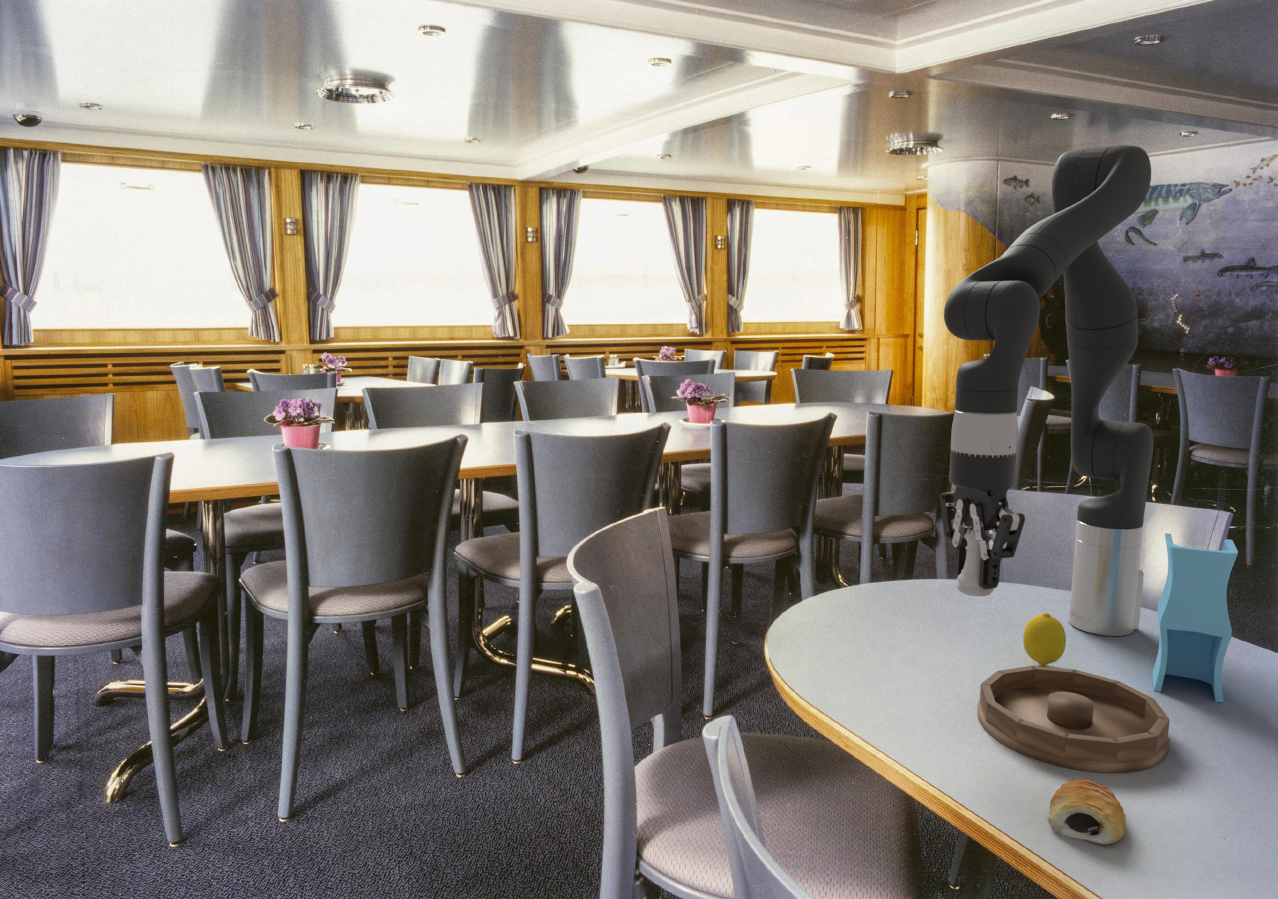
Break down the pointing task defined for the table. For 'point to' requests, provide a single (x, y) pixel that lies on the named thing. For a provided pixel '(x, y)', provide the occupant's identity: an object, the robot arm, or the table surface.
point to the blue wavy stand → (1194, 615)
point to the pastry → (1087, 812)
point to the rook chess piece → (972, 568)
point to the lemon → (1044, 639)
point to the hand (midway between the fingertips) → (975, 581)
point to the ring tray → (1074, 748)
